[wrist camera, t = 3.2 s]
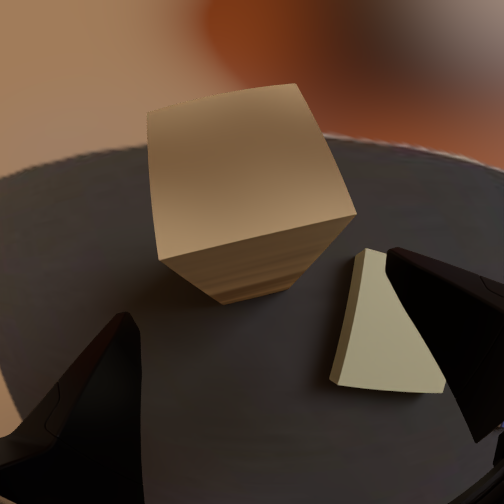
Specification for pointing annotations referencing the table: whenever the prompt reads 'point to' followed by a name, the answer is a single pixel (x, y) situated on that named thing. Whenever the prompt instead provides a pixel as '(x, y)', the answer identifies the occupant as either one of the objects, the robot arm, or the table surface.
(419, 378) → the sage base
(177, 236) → the maple post
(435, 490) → the table surface
